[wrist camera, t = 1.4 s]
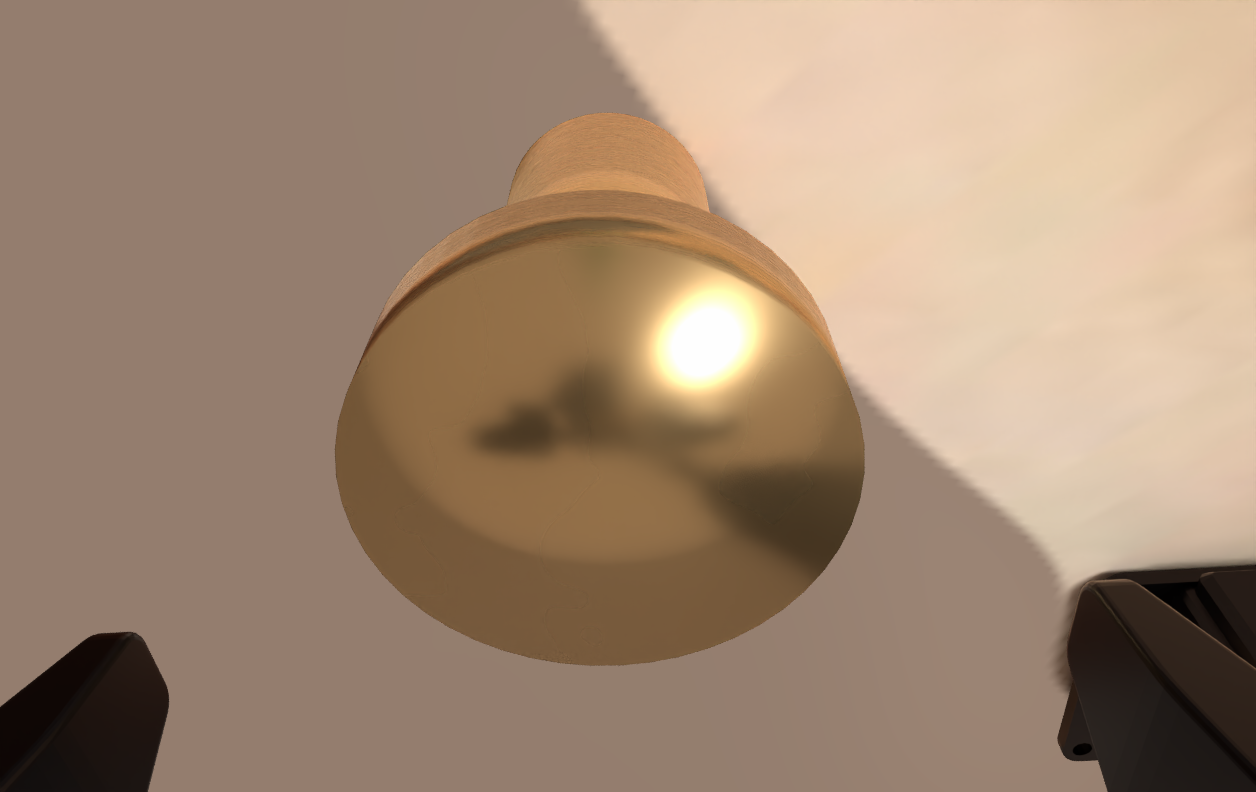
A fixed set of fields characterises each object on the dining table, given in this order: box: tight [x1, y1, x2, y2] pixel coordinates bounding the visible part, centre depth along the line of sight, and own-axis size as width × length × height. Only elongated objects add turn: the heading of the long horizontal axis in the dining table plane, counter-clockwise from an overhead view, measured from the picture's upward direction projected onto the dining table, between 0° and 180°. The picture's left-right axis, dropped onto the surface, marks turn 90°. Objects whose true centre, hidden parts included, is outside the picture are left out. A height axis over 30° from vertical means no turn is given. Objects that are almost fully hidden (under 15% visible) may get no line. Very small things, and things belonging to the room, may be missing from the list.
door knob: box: [335, 113, 864, 665], centre depth 14 cm, size 6×6×8 cm
